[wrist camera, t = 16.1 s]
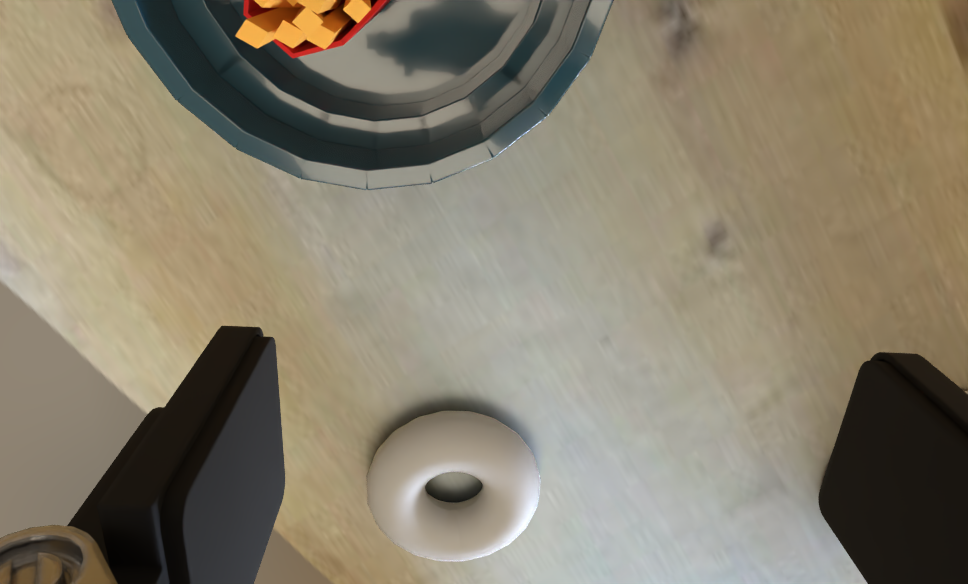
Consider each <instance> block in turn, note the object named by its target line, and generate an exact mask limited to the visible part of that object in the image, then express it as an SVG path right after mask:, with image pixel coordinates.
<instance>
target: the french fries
mask: <svg viewBox="0 0 968 584" xmlns="http://www.w3.org/2000/svg"><path fill="white" fill-rule="evenodd" d="M389 1H390V0H244V14H243V15H244V16H245V17H246V18H248V19H246V20H245V22H244V23H243V25H242V26H241V28H240V29H239V31H238V32H237V34H236V35H235V36H236V37H237V38H239V39H241V40H243V41H244V42H246V43H248V44H250V45H252V46H253V47H255V48H259V47H261V46H263V45H265V44H267V43H269V42H271V41H273V42H275V43H276V44H277V45H278V46H279V47H280V48H281V49H282V50H284V51H285V52H286V53H287V54H288V55H289V56H290V57H292V58H296V57H300V56H304V55H308V54H312V53H316V52H320V51H323V50H327V49H331V48H335V47H339V46H343V45H344V44H345V43H346V42H348V41H349V40H350V39H351V38H352V37H353V36H354V35H355V34H356V33H357V32H359V31H360V30H361V29H362V28H363V27H364V26H365V25H366V24H367V23H368V22H370V21H371V20H372V19H373V18H374V17H375V16H376V15H377V14H378V13H379V12H380V11H381V10H382V9H383V8H384V7H385V6H386V5H387V4H388V3H389Z"/></svg>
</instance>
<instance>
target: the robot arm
mask: <svg viewBox="0 0 968 584" xmlns="http://www.w3.org/2000/svg"><path fill="white" fill-rule="evenodd" d="M284 488H285V469H284V455H283V441H282V427H281V413H280V399H279V385H278V371H277V357H276V345H275V340H274V338H273V337H263V332H262V330H261V328H260V327H238V326H221V327H220V328H219V329H218V331H217V332H216V334H215V335H214V337H213V338H212V340H211V341H210V342H209V344H208V345H207V347H206V348H205V350H204V351H203V353H202V354H201V355H200V357H199V358H198V360H197V361H196V363H195V364H194V366H193V367H192V368H191V370H190V371H189V373H188V374H187V376H186V377H185V379H184V380H183V381H182V383H181V384H180V386H179V387H178V389H177V390H176V392H175V393H174V394H173V396H172V397H171V399H170V400H169V402H168V403H167V405H166V406H165V407H164V408H162V407H158V408H155V409H152V410H151V411H150V412H149V414H148V415H147V416H146V417H145V418H144V420H143V421H142V423H141V424H140V426H139V427H138V428H137V430H136V431H135V433H134V434H133V435H132V437H131V438H130V439H129V441H128V442H127V443H126V445H125V446H124V448H123V449H122V450H121V452H120V453H119V455H118V456H117V457H116V459H115V460H114V462H113V463H112V465H111V466H110V467H109V469H108V470H107V471H106V473H105V474H104V475H103V477H102V478H101V480H100V481H99V482H98V484H97V485H96V487H95V488H94V489H93V491H92V492H91V494H90V495H89V496H88V498H87V499H86V500H85V502H84V503H83V505H82V506H81V507H80V509H79V510H78V512H77V513H76V514H75V516H74V517H73V518H72V520H71V521H70V523H69V524H68V525H67V526H60V525H48V526H40V527H32V528H28V529H25V530H21V531H18V532H14V533H11V534H8V535H5V536H3V537H1V538H0V584H254V581H255V578H256V575H257V572H258V570H259V567H260V564H261V561H262V558H263V555H264V552H265V549H266V546H267V543H268V540H269V537H270V535H271V532H272V529H273V526H274V523H275V520H276V517H277V514H278V511H279V509H280V506H281V503H282V499H283V495H284ZM819 507H820V510H821V513H822V515H823V517H824V519H825V520H826V522H827V523H828V525H829V526H830V528H831V529H832V531H833V532H834V534H835V535H836V537H837V538H838V540H839V541H840V543H841V544H842V546H843V547H844V549H845V550H846V552H847V553H848V555H849V556H850V558H851V559H852V561H853V562H854V564H855V565H856V567H857V568H858V570H859V571H860V572H861V574H862V575H863V577H864V578H865V580H866V581H867V583H868V584H968V391H963V390H962V389H961V388H960V387H958V386H957V385H956V384H955V383H954V382H952V381H951V380H950V379H949V378H948V377H946V376H945V375H944V374H943V373H942V372H940V371H939V370H938V369H937V368H935V367H934V366H933V365H932V364H931V363H929V362H928V361H927V360H926V359H925V358H923V357H922V356H920V355H918V354H910V353H885V352H879V353H877V354H875V355H874V356H873V357H872V358H871V360H870V361H866V362H864V363H863V364H862V366H861V368H860V370H859V373H858V376H857V379H856V382H855V385H854V388H853V391H852V394H851V397H850V400H849V403H848V406H847V409H846V412H845V415H844V418H843V421H842V425H841V428H840V431H839V434H838V437H837V440H836V443H835V446H834V449H833V452H832V455H831V458H830V461H829V464H828V467H827V470H826V473H825V476H824V479H823V483H822V486H821V489H820V492H819Z"/></svg>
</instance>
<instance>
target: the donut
mask: <svg viewBox="0 0 968 584" xmlns="http://www.w3.org/2000/svg"><path fill="white" fill-rule="evenodd" d="M448 472H463V473H466V474H470V475H473V476H474V477H476V478H477V479H479V480H480V481H481V483H482V484H483V488H482V490H481V491H480V492H479V493H478V494H477V495H476V496H475V497H473V498H471V499H469V500H467V501H462V502H458V503H447V502H443V501H440V500H437V499H435V498H433V497H432V496H430V495H429V494H428V493H427V492H426V490H425V486H426V483H427V482H428V481H429V480H430V479H432V478H434V477H435V476H437V475H439V474H443V473H448ZM540 481H541V478H540V474H539V471H538V467H537V464H536V461H535V457H534V455H533V453H532V451H531V450H530V448H529V447H528V446H527V445H526V443H525V442H524V441H523V439H522V438H521V437H520V436H519V434H518V433H516V432H515V431H513V430H512V429H510V428H509V427H507V426H506V425H504V424H502V423H501V422H499V421H498V420H496V419H495V418H492V417H488V416H485V415H482V414H478V413H475V412H471V411H440V412H436V413H432V414H428V415H424V416H420V417H417V418H416V419H414V420H412V421H410V422H409V423H407V424H405V425H404V426H402V427H400V428H398V429H397V430H395V431H394V432H393V433H392V434H391V435H390V436H389V437H388V438H387V439H386V441H385V442H384V443H383V444H382V445H381V446H380V447H379V448H378V449H377V452H376V454H375V456H374V459H373V462H372V464H371V467H370V469H369V472H368V474H367V502H368V506H369V508H370V510H371V513H372V515H373V517H374V519H375V522H376V524H377V525H378V527H379V528H380V529H381V530H382V532H383V533H384V534H385V535H386V536H387V537H388V538H389V539H390V540H391V541H392V542H393V543H394V544H396V545H397V546H399V547H401V548H403V549H405V550H406V551H408V552H410V553H412V554H414V555H416V556H420V557H424V558H429V559H433V560H437V561H467V560H471V559H475V558H479V557H484V556H487V555H489V554H491V553H493V552H495V551H497V550H499V549H501V548H503V547H505V546H507V545H509V544H510V543H511V542H512V541H513V540H514V539H515V538H516V537H517V536H518V535H519V534H520V533H521V532H523V531H524V530H525V528H526V527H527V525H528V523H529V521H530V519H531V517H532V516H533V514H534V512H535V510H536V508H537V506H538V500H539V492H540Z"/></svg>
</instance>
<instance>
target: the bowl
mask: <svg viewBox="0 0 968 584" xmlns="http://www.w3.org/2000/svg"><path fill="white" fill-rule="evenodd" d="M613 1H614V0H390V1H389V3H388V4H387V5H386V6H385V7H384V8H383V9H382V10H381V11H380V12H379V13H378V14H377V15H376V16H375V17H374V18H373V19H372V20H371V21H370V22H368V23H367V24H366V25H365V26H364V27H363V28H362V29H361V30H360V31H359V32H357V33H356V34H355V35H354V36H353V37H352V38H351V39H350V40H349V41H348V42H346V43H345V44H344V45H343V46H339V47H335V48H331V49H327V50H323V51H320V52H316V53H312V54H308V55H304V56H300V57H296V58H292V57H290V56H289V55H288V54H287V53H286V52H285V51H284V50H282V49H281V48H280V47H279V46H278V45H277V44H276V43H275V42H273V41H271V42H269V43H267V44H265V45H263V46H261V47H259V48H255V47H253V46H252V45H250V44H248V43H246V42H244V41H243V40H241V39H239V38H237V37H236V36H235V35H236V34H237V32H238V31H239V29H240V28H241V26H242V25H243V23H244V22H245V20H246V19H248V18H246V17H245V16H244V15H243V14H244V0H112V3H113V5H114V7H115V9H116V12H117V14H118V16H119V19H120V21H121V23H122V25H123V28H124V30H125V32H126V35H128V38H129V39H130V40H131V42H132V43H133V44H134V46H135V47H136V48H137V50H138V51H139V52H140V54H141V55H142V56H143V57H144V59H145V60H146V61H147V63H148V64H149V65H150V67H151V68H152V69H153V71H154V72H155V73H156V75H157V76H158V77H159V79H160V80H161V81H162V83H163V84H164V85H165V86H166V88H167V89H168V90H169V92H170V93H171V94H172V96H173V97H174V98H175V100H178V102H179V103H180V104H181V105H183V106H184V107H185V108H186V109H188V110H189V111H190V112H191V113H193V114H194V115H195V116H196V117H197V118H199V119H200V120H201V121H202V122H204V123H205V124H206V125H207V126H209V127H210V128H211V129H212V130H214V131H215V132H216V133H217V134H218V135H220V136H221V137H222V138H223V139H225V140H226V141H227V142H228V143H230V144H231V145H232V146H233V147H235V148H236V149H237V150H239V151H242V152H244V153H246V154H248V155H250V156H252V157H255V158H257V159H259V160H261V161H263V162H265V163H268V164H270V165H272V166H274V167H276V168H278V169H281V170H283V171H285V172H287V173H289V174H291V175H294V176H296V177H298V178H301V179H305V180H311V181H317V182H323V183H328V184H334V185H340V186H346V187H352V188H357V189H363V190H373V189H383V188H393V187H402V186H412V185H422V184H431V183H432V182H433V183H435V182H437V181H440V180H442V179H445V178H447V177H450V176H452V175H455V174H457V173H460V172H462V171H464V170H467V169H469V168H472V167H474V166H477V165H479V164H482V163H484V162H487V161H489V160H492V159H493V157H496V156H498V155H499V154H500V153H502V152H503V151H504V150H505V149H507V148H508V147H509V146H511V145H512V144H513V143H514V142H516V141H517V140H518V139H520V138H521V137H522V136H523V135H525V134H526V133H527V132H529V131H530V130H531V129H532V128H534V127H535V126H536V125H538V124H539V123H540V122H541V121H543V120H544V119H545V118H546V117H547V116H548V115H549V114H550V113H551V112H552V110H553V109H554V108H555V106H556V105H557V104H558V102H559V101H560V100H561V98H562V97H563V96H564V94H565V93H566V91H567V90H568V89H569V87H570V86H571V85H572V83H573V82H574V81H575V79H576V78H577V77H578V75H579V74H580V73H581V71H582V70H583V68H584V67H585V66H586V64H587V63H588V62H589V60H590V57H591V56H592V54H593V52H594V49H595V47H596V44H597V42H598V39H599V36H600V34H601V31H602V29H603V26H604V24H605V21H606V19H607V16H608V14H609V11H610V9H611V6H612V3H613Z"/></svg>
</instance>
